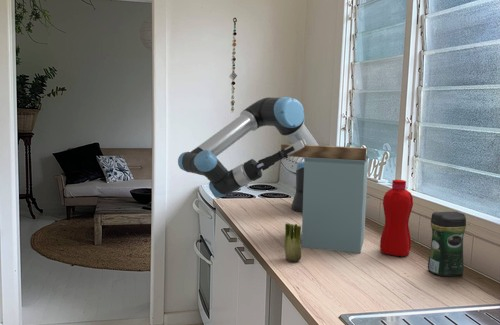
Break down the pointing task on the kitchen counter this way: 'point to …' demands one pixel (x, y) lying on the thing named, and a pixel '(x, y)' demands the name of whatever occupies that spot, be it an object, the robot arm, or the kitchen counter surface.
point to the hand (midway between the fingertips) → (303, 143)
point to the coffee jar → (447, 243)
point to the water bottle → (396, 220)
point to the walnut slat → (329, 152)
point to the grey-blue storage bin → (334, 204)
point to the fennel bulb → (292, 242)
